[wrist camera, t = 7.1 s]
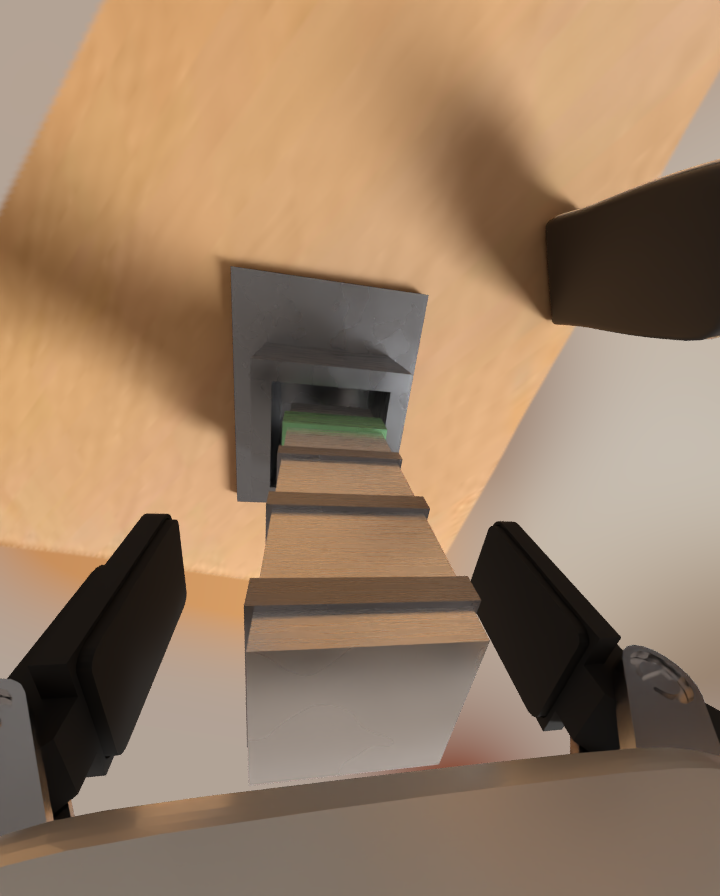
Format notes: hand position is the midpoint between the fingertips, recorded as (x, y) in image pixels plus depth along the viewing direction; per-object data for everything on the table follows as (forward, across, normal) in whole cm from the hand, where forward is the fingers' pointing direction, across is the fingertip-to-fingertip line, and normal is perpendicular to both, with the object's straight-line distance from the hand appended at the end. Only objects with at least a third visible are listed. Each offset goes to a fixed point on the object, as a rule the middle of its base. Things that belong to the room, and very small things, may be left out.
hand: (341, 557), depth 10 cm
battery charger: (+16, -16, -11) cm, 25 cm away
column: (+9, 0, 0) cm, 9 cm away
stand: (+16, 0, 0) cm, 16 cm away
